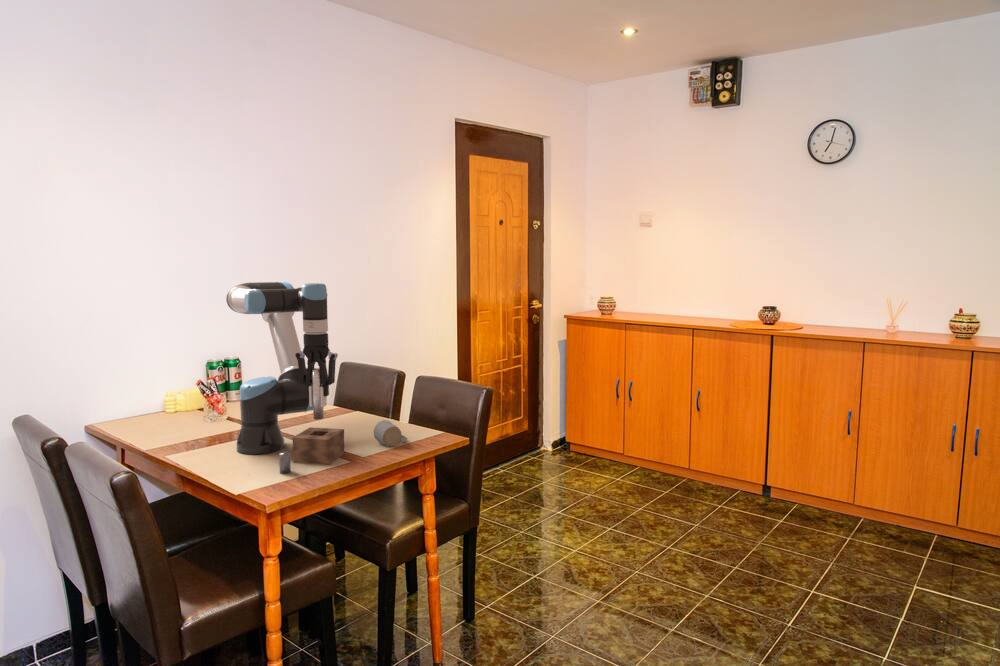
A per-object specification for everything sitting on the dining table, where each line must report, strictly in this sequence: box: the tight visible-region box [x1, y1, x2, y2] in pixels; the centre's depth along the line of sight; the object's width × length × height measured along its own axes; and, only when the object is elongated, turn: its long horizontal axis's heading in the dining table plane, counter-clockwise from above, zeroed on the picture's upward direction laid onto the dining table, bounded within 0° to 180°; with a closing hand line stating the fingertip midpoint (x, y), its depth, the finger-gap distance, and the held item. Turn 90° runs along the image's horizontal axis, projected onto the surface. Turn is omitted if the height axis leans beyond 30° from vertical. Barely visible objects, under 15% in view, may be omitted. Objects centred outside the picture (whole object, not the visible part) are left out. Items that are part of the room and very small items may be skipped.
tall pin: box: [312, 367, 325, 421], centre depth 213 cm, size 3×3×16 cm
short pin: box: [278, 450, 292, 475], centre depth 201 cm, size 3×3×6 cm
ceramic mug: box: [373, 419, 408, 447], centre depth 231 cm, size 11×8×8 cm
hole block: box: [292, 427, 346, 466], centre depth 215 cm, size 12×12×8 cm
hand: (318, 405), depth 213 cm, fingers closed on tall pin, 3 cm apart
